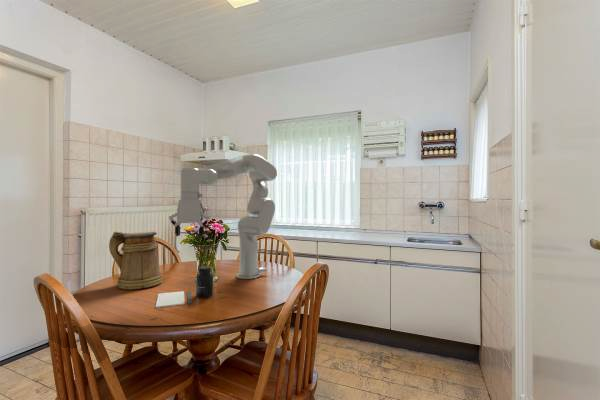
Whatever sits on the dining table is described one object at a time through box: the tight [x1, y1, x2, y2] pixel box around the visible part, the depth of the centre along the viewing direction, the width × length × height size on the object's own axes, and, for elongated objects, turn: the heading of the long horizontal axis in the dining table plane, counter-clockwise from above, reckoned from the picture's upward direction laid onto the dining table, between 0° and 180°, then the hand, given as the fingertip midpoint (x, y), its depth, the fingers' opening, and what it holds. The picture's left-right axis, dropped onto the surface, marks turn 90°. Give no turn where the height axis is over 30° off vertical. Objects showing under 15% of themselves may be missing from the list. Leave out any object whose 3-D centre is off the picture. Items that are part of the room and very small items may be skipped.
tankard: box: [108, 231, 164, 290], centre depth 139 cm, size 18×24×25 cm
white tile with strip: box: [155, 290, 193, 309], centre depth 119 cm, size 13×16×1 cm
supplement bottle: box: [195, 265, 214, 299], centre depth 124 cm, size 7×7×12 cm
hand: (189, 235), depth 128 cm, fingers open, 9 cm apart
